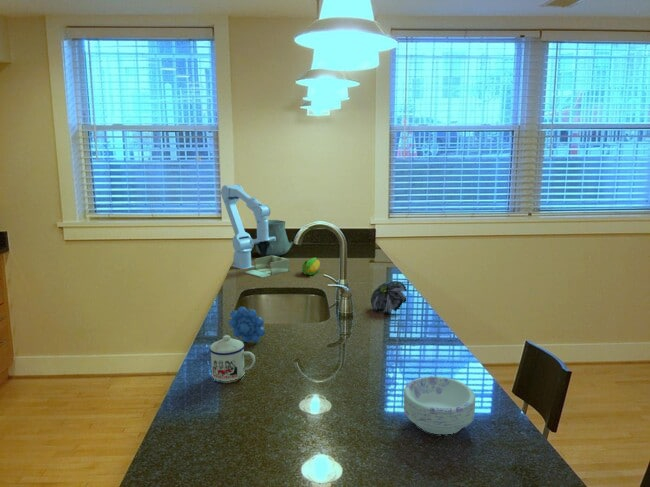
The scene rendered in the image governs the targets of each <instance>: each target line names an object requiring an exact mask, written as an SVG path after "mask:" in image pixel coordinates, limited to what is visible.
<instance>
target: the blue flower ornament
mask: <svg viewBox="0 0 650 487" xmlns="http://www.w3.org/2000/svg"><path fill="white" fill-rule="evenodd" d="M230 318H231V319H229V320H228V326H229V327H230V328H232V335H233V336H235V337H236V338H238V339H239V338H241V340H242V342H243V341H244V342H243V343H245V342H249V343H250V342H251V341H252V342H253V343H258V342H260V340H261V337H262V336H265V334H266V331H265V328H264V327H263V326H264V324H265V321H264V319H263V318H262V317H261V316H258V314H257V311H256V310H255V309H252V308H250V309H247V308H246V307H245V306H239V307H238V309H237V310H235V309H234V310H232V311H231V312H230Z"/></svg>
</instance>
